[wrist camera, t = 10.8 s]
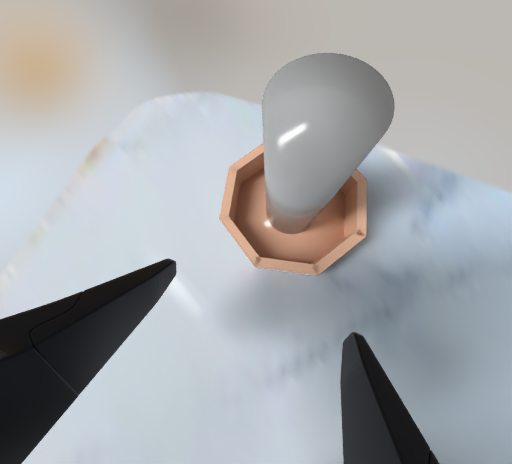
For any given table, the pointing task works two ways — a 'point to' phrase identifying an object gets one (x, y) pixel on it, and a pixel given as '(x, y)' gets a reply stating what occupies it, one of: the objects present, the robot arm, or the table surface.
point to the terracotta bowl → (291, 245)
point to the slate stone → (318, 132)
